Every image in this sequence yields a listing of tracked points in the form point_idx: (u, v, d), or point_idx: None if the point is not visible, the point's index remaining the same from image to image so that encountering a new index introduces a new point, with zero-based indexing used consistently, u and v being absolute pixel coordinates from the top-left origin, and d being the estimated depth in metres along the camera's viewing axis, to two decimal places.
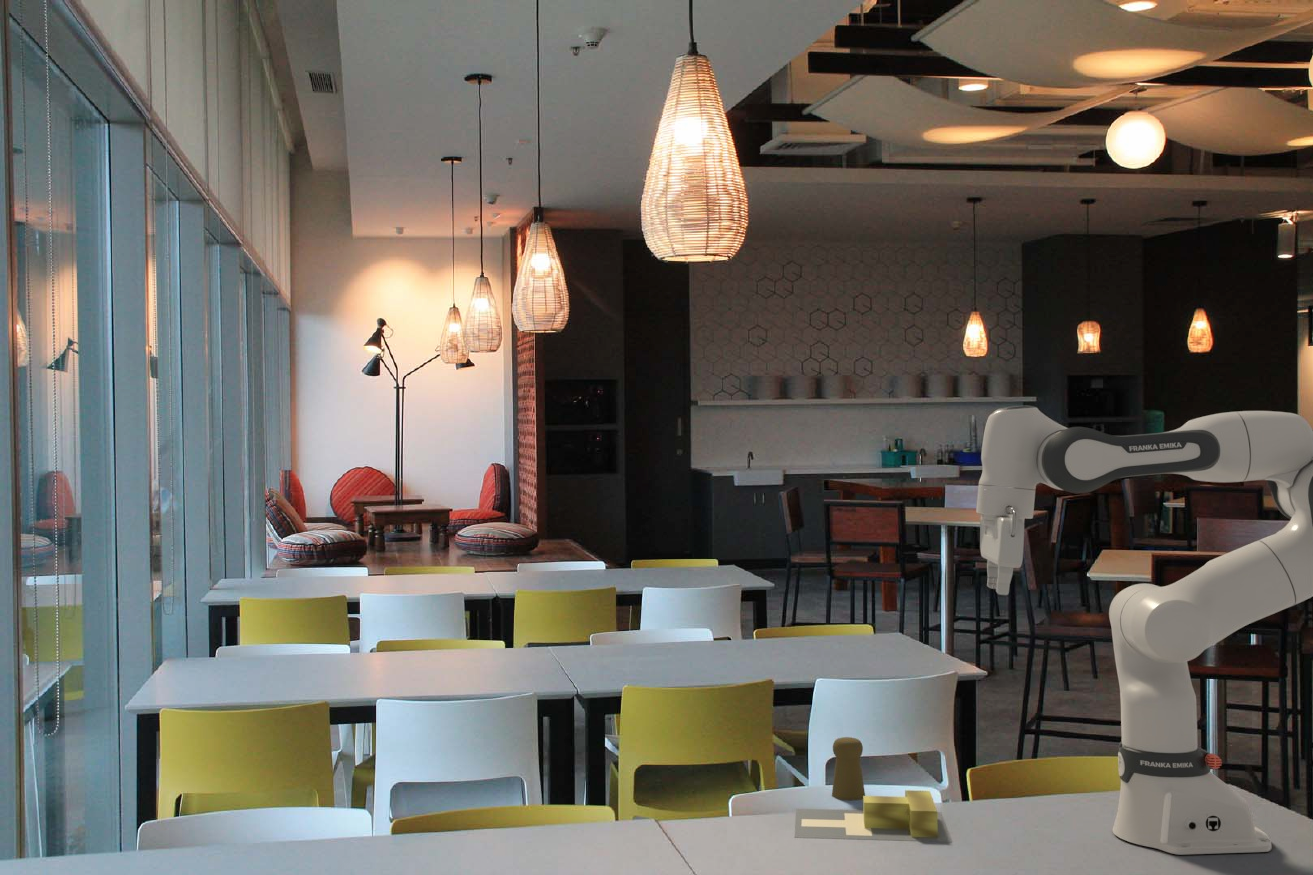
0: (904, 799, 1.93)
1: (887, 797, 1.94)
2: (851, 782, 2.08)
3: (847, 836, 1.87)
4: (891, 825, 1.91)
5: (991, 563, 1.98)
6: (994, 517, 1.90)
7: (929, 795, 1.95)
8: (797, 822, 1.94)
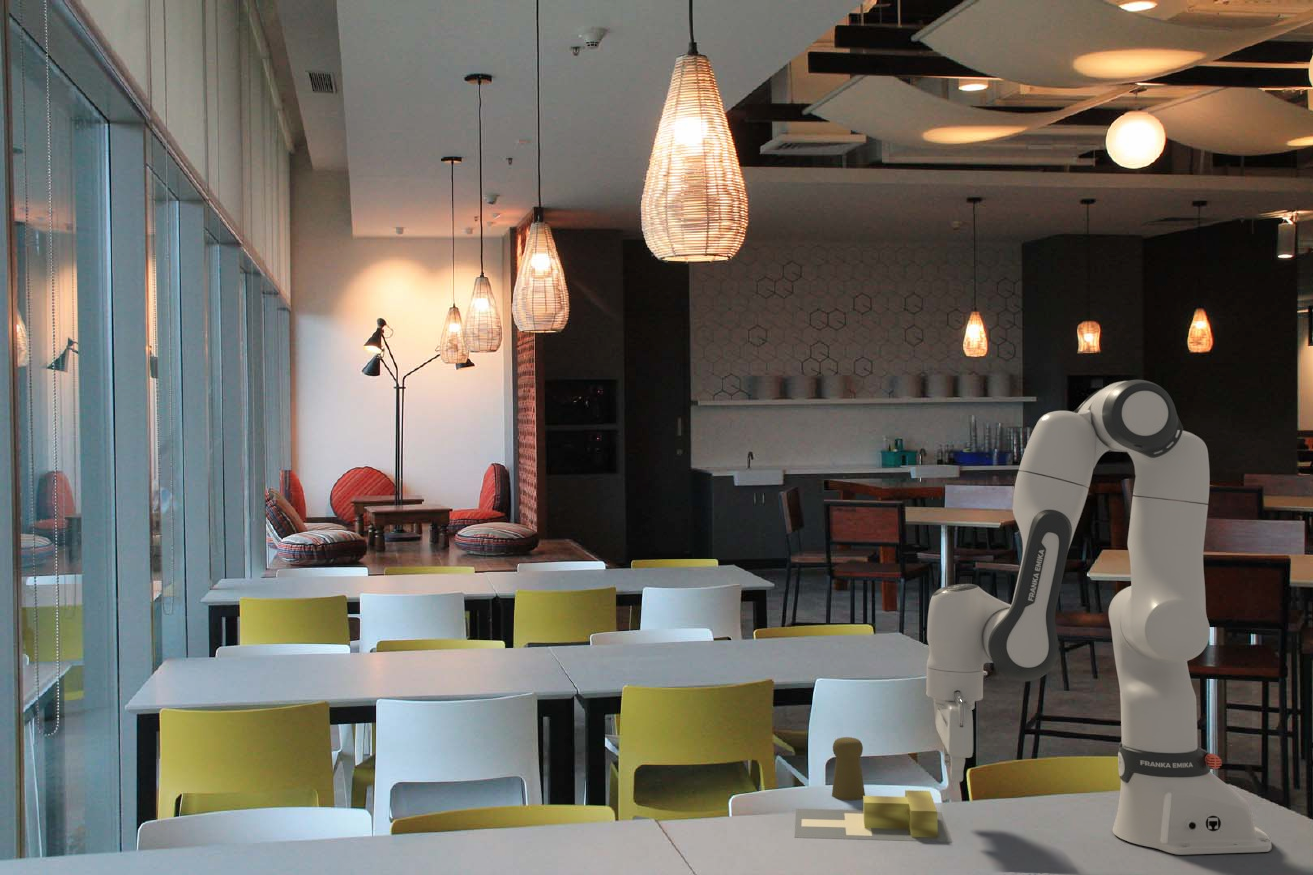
0: (904, 799, 1.93)
1: (887, 797, 1.94)
2: (851, 782, 2.08)
3: (847, 836, 1.87)
4: (891, 825, 1.91)
5: None
6: (944, 701, 1.90)
7: (929, 795, 1.95)
8: (797, 822, 1.94)
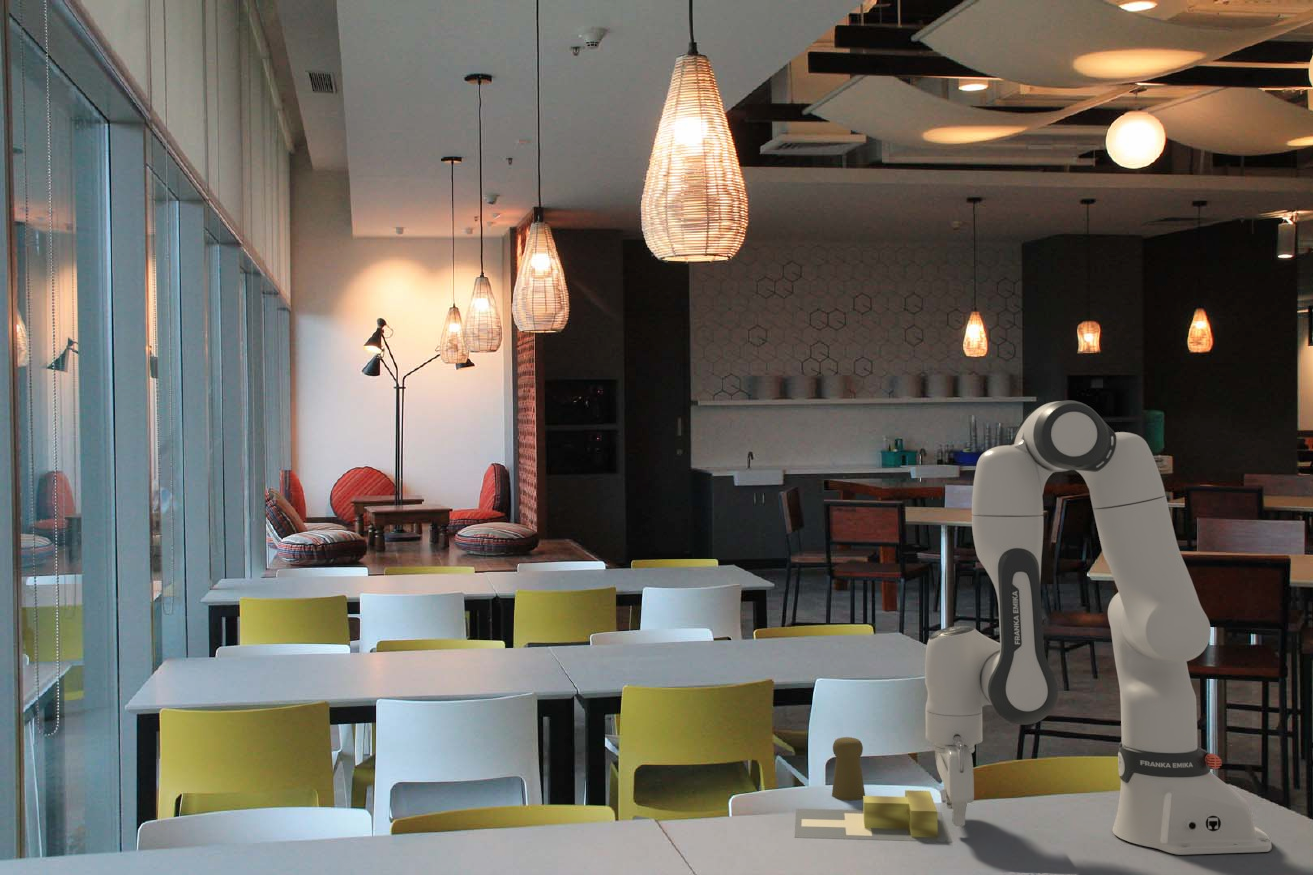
0: (904, 799, 1.93)
1: (887, 797, 1.94)
2: (851, 782, 2.08)
3: (847, 836, 1.87)
4: (891, 825, 1.91)
5: None
6: (943, 744, 1.89)
7: (929, 795, 1.95)
8: (797, 822, 1.94)
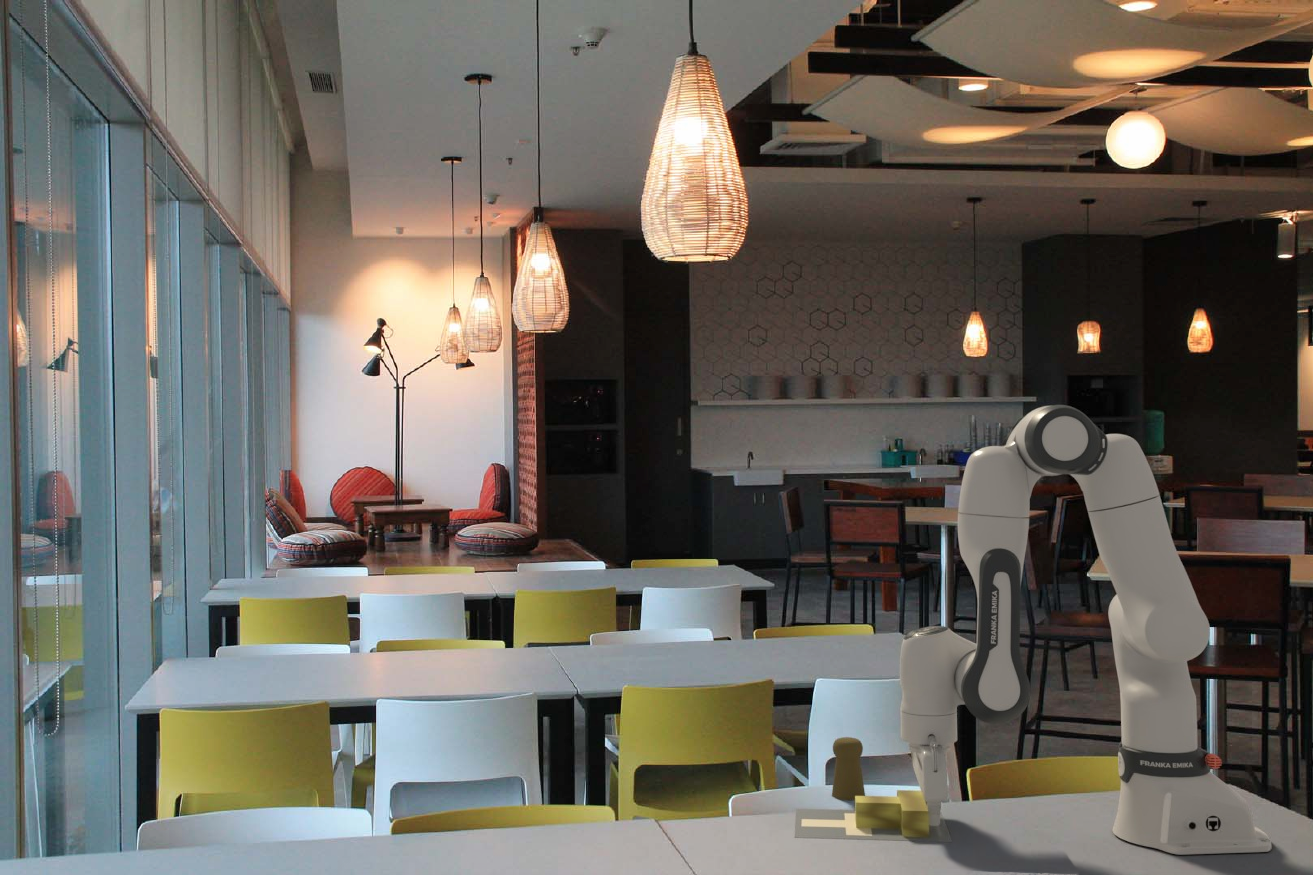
0: (896, 799, 1.93)
1: (879, 797, 1.94)
2: (851, 782, 2.08)
3: (847, 836, 1.87)
4: (883, 825, 1.91)
5: None
6: (918, 744, 1.90)
7: (921, 795, 1.95)
8: (797, 822, 1.94)
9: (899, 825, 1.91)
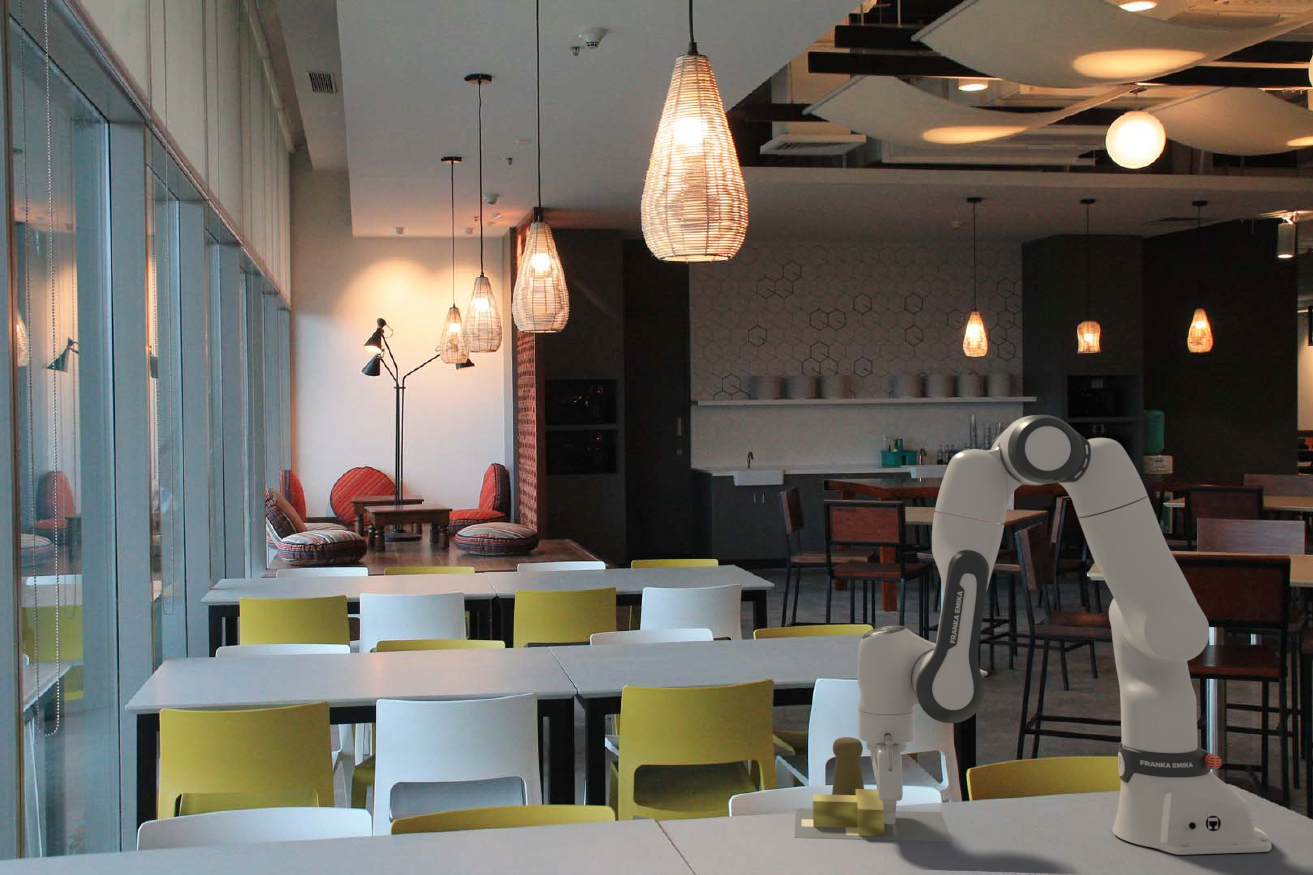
0: (853, 798, 1.94)
1: (836, 795, 1.95)
2: (851, 782, 2.08)
3: (847, 836, 1.87)
4: (839, 823, 1.92)
5: None
6: (875, 743, 1.91)
7: None
8: (797, 822, 1.94)
9: (856, 823, 1.92)
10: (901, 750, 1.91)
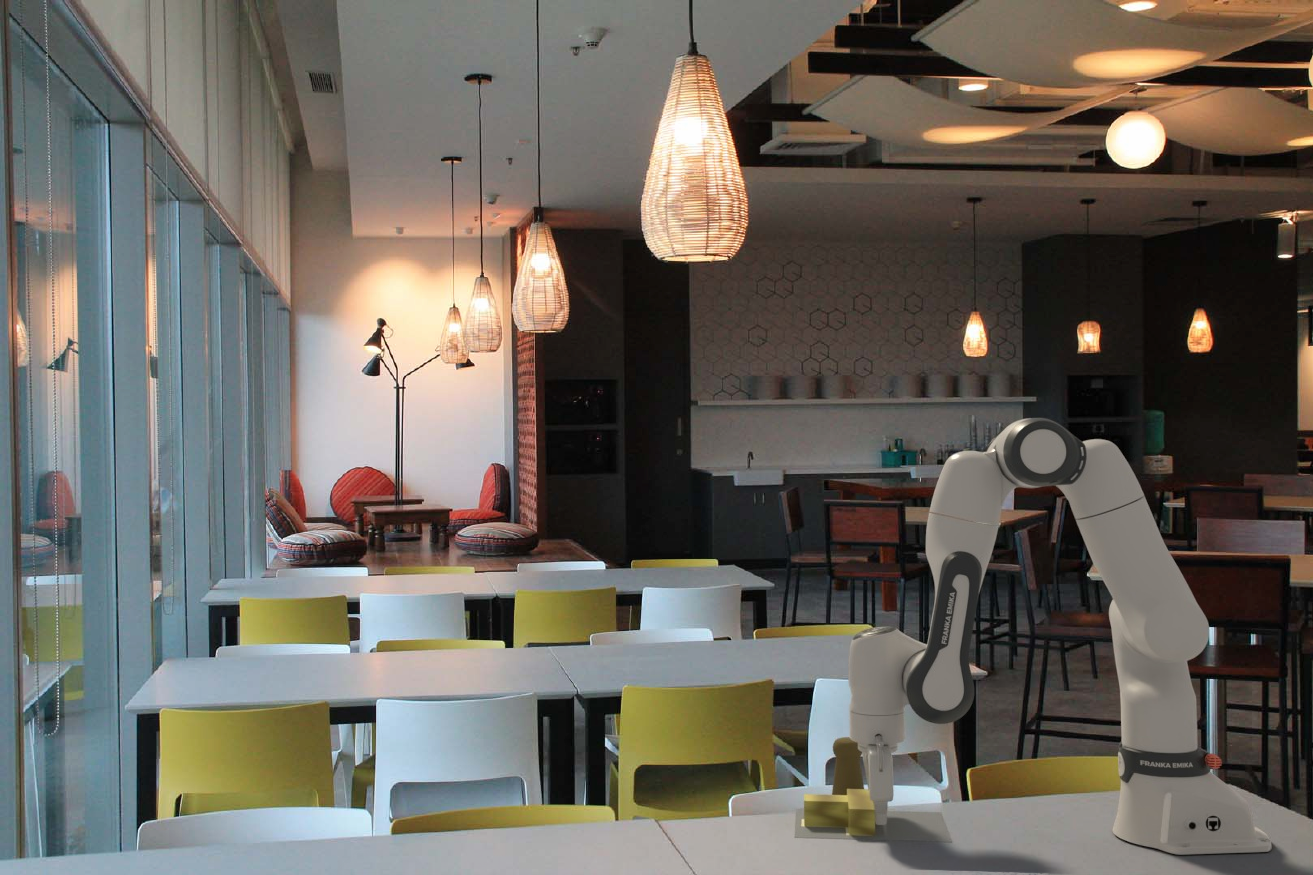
0: (844, 798, 1.94)
1: (828, 795, 1.96)
2: (851, 782, 2.08)
3: (847, 836, 1.87)
4: (830, 823, 1.92)
5: None
6: (866, 744, 1.91)
7: None
8: (797, 822, 1.94)
9: (847, 823, 1.92)
10: (892, 751, 1.91)
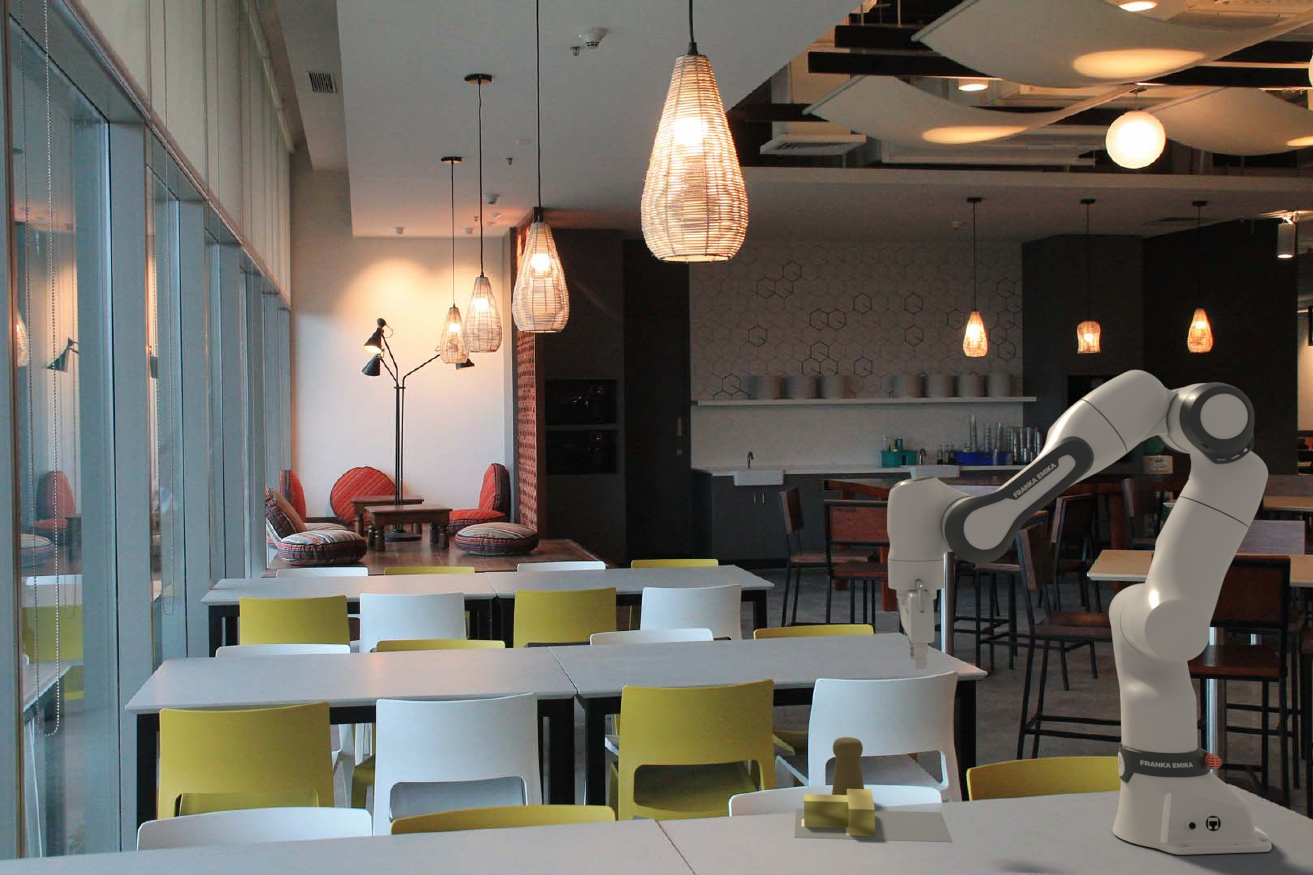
0: (844, 798, 1.94)
1: (828, 795, 1.96)
2: (851, 782, 2.08)
3: (847, 836, 1.87)
4: (830, 823, 1.92)
5: None
6: (905, 591, 1.91)
7: (870, 793, 1.96)
8: (797, 822, 1.94)
9: (847, 823, 1.92)
10: (932, 598, 1.91)
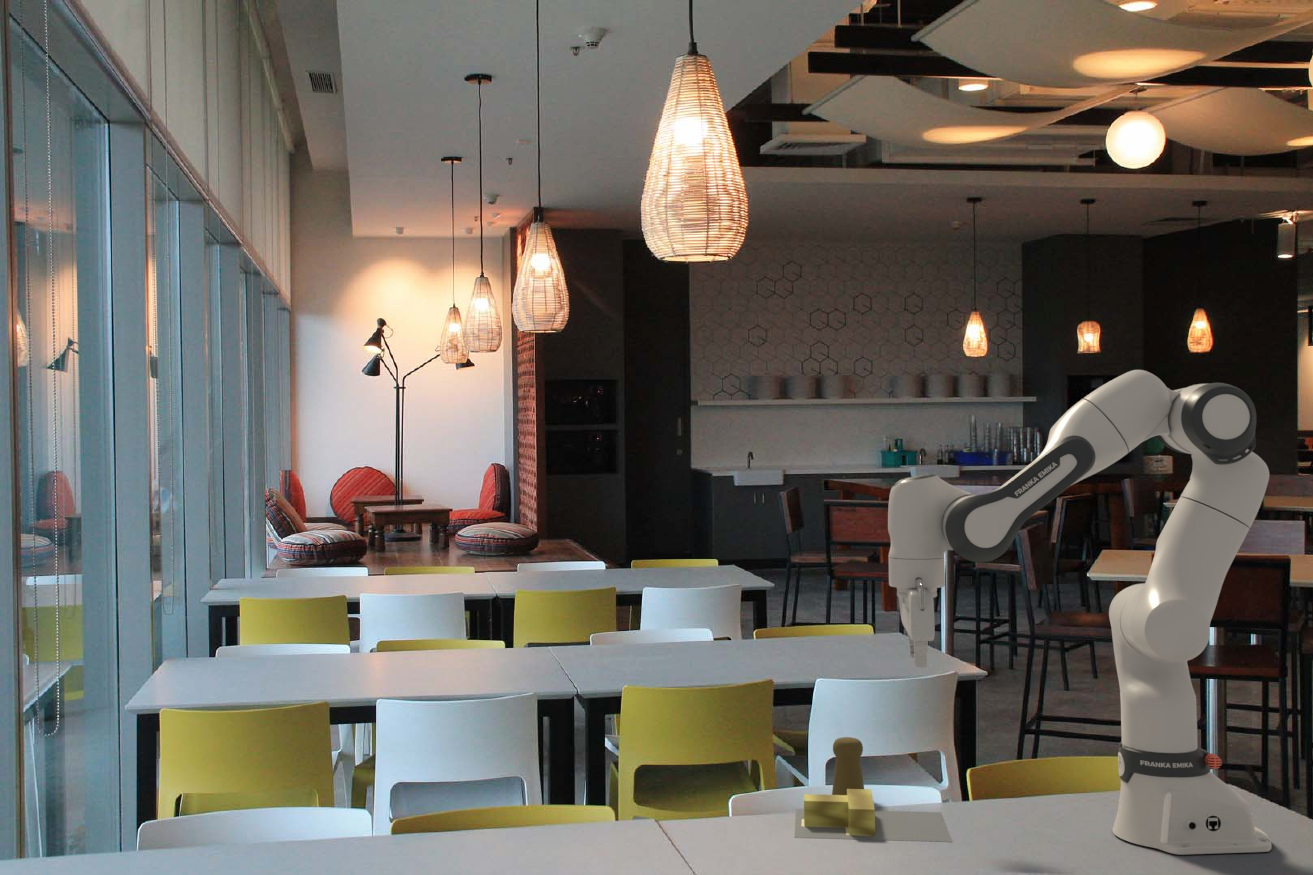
0: (844, 798, 1.94)
1: (828, 795, 1.96)
2: (851, 782, 2.08)
3: (847, 836, 1.87)
4: (830, 823, 1.92)
5: None
6: (906, 589, 1.91)
7: (870, 793, 1.96)
8: (797, 822, 1.94)
9: (847, 823, 1.92)
10: None
